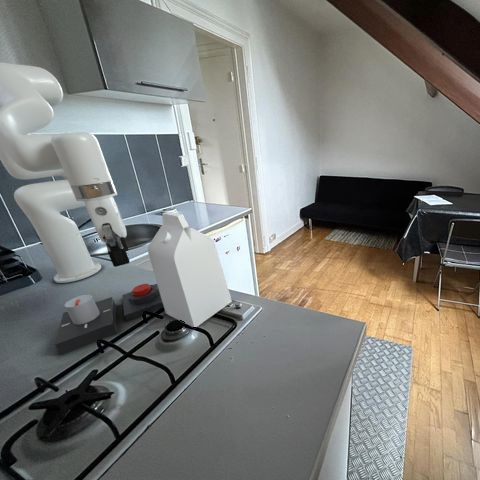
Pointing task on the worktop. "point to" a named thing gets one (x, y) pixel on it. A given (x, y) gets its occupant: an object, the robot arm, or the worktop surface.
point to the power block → (141, 303)
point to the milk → (187, 271)
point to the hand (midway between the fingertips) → (121, 257)
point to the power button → (141, 290)
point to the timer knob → (82, 309)
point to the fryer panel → (87, 328)
